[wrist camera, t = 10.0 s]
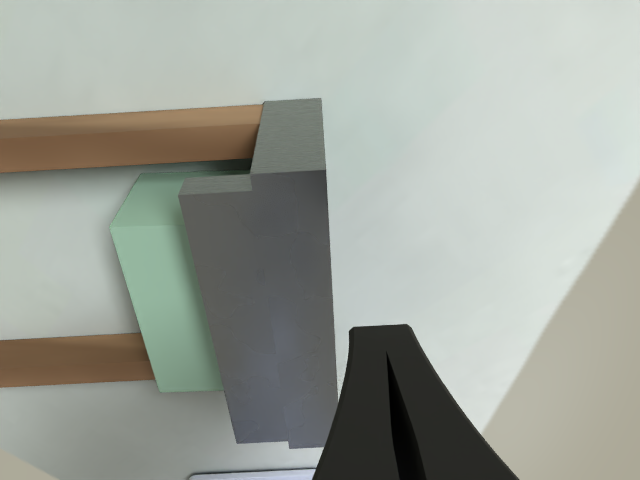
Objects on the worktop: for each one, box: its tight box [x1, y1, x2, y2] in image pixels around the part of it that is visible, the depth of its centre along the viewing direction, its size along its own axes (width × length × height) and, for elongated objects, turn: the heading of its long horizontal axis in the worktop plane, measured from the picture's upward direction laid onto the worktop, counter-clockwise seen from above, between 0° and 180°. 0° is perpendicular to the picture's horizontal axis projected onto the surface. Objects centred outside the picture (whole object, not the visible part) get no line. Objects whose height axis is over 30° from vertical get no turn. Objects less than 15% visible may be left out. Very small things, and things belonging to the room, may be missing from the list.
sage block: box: [109, 170, 251, 393], centre depth 21 cm, size 8×5×4 cm, turn 2°
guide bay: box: [0, 98, 338, 449], centre depth 19 cm, size 12×18×6 cm, turn 93°
